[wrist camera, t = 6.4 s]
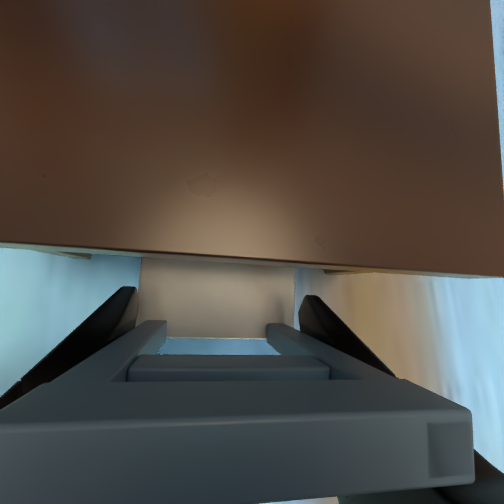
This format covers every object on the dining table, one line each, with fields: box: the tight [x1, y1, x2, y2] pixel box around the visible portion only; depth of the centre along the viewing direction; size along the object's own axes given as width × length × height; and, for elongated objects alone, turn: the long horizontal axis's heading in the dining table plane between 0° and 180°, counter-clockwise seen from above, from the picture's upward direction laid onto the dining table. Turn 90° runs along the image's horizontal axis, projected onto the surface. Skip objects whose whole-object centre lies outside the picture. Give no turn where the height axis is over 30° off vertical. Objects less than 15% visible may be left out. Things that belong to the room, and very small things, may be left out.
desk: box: [0, 0, 504, 279], centre depth 12 cm, size 10×16×10 cm, turn 87°
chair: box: [0, 257, 475, 504], centre depth 10 cm, size 7×6×13 cm
